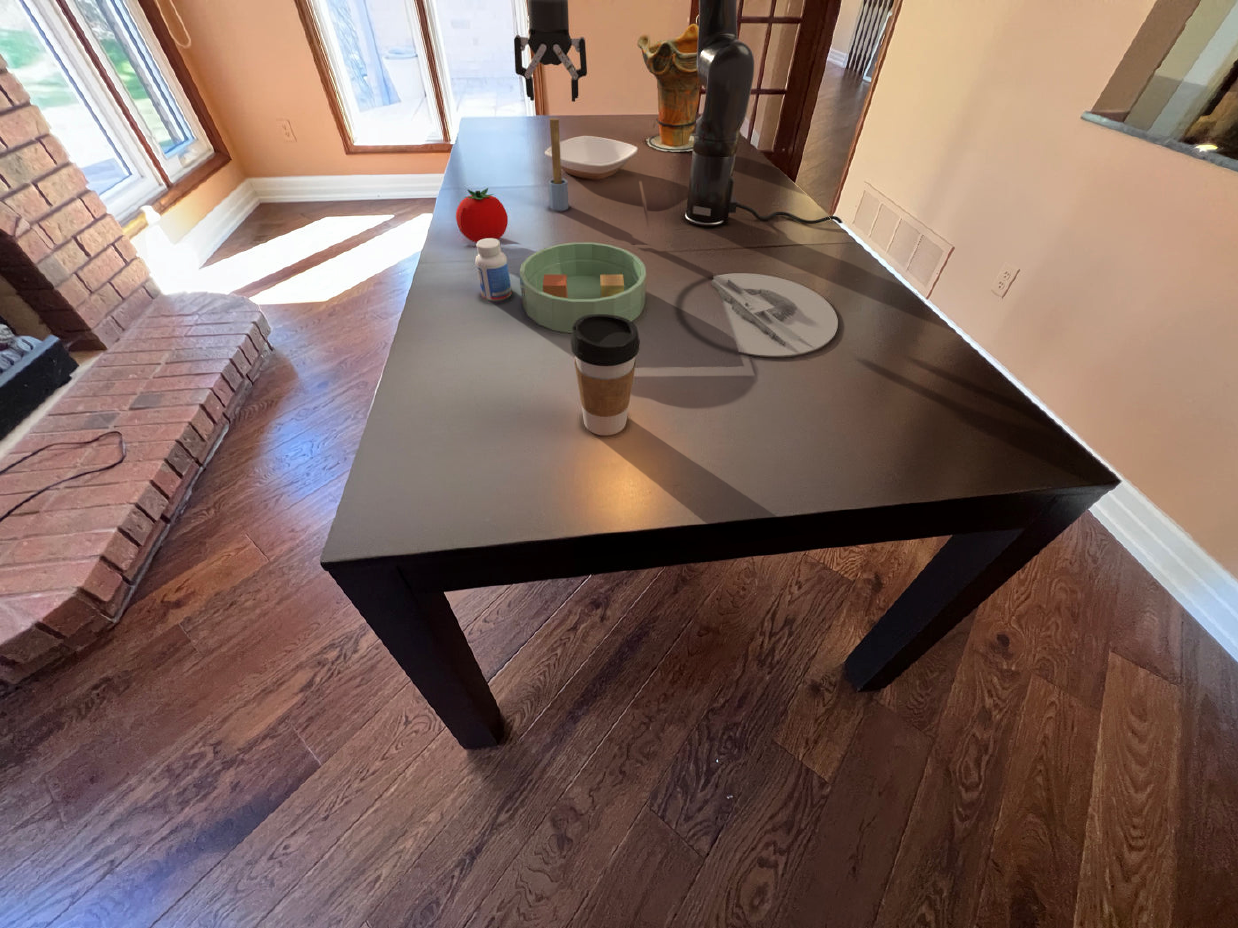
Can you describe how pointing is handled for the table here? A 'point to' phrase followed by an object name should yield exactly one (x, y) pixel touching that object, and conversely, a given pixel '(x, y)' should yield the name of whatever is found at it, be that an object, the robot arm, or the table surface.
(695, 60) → the decorative vase
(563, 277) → the block
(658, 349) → the table surface
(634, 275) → the stir bowl
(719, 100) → the robot arm
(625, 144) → the bowl
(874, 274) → the table surface
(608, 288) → the block
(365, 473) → the table surface
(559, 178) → the stick
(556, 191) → the stick holder
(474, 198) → the tomato
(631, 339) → the coffee cup
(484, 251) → the pill bottle
